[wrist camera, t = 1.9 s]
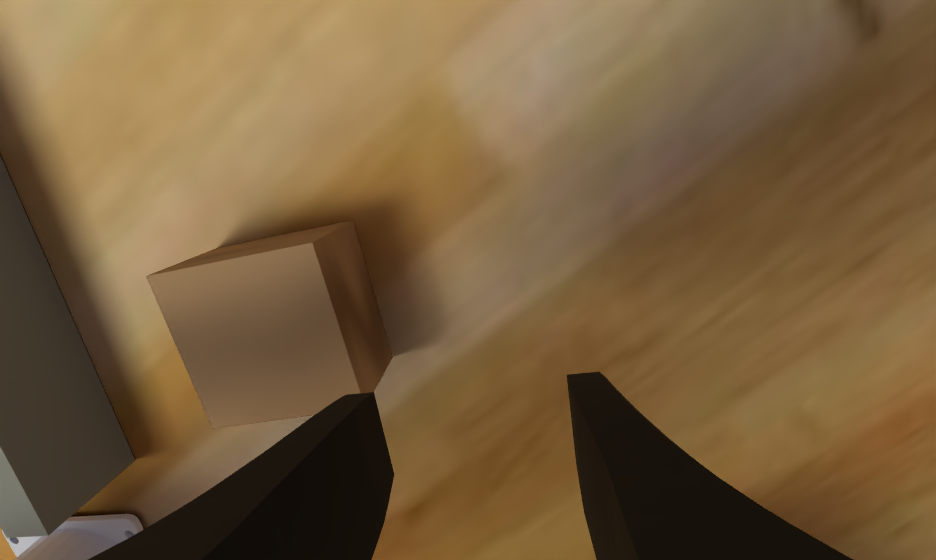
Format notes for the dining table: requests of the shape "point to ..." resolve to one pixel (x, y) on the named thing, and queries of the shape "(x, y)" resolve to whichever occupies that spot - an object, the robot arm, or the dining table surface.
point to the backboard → (46, 392)
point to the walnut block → (276, 324)
